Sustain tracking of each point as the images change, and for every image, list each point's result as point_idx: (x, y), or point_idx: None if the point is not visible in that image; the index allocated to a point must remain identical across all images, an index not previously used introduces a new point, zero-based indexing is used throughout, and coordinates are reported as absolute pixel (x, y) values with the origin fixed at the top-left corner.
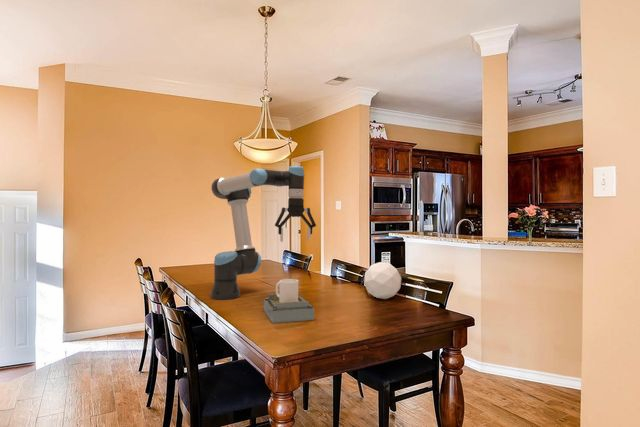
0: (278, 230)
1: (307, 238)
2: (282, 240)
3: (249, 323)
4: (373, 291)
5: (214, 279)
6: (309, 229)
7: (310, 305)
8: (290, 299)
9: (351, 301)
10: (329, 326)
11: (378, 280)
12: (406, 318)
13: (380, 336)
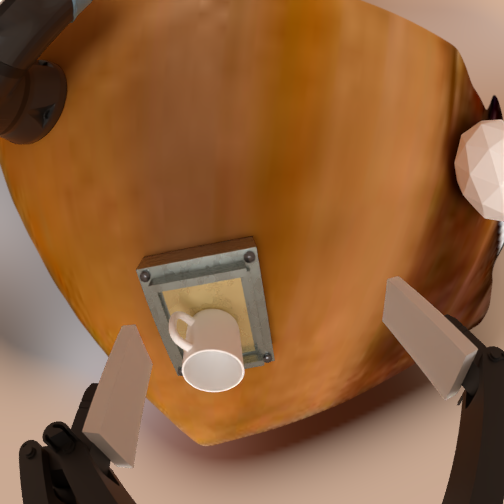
0: (78, 417)
1: (398, 294)
2: (147, 370)
3: None
4: (461, 190)
5: None
6: (442, 389)
7: (269, 340)
8: (217, 358)
9: (402, 184)
10: (290, 374)
11: (486, 212)
12: None
13: (347, 400)
